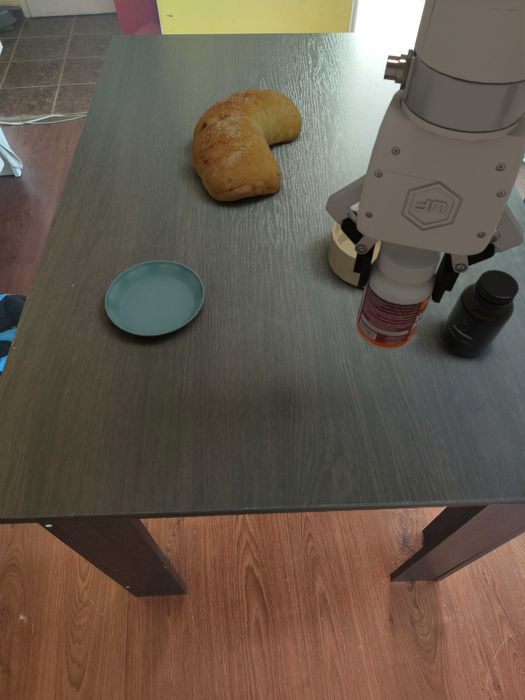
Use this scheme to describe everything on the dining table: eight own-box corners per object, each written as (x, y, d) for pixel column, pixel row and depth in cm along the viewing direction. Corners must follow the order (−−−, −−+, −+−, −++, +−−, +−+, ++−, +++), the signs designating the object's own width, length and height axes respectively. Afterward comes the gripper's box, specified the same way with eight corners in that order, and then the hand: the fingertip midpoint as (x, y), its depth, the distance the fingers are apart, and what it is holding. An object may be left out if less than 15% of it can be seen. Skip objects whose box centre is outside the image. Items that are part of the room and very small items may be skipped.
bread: (220, 109, 104) (216, 61, 96) (307, 122, 101) (311, 73, 93) (167, 198, 86) (157, 148, 78) (271, 216, 83) (271, 166, 75)
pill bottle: (416, 354, 47) (453, 276, 38) (355, 350, 48) (377, 272, 38) (410, 308, 51) (442, 226, 42) (353, 304, 51) (373, 223, 42)
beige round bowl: (411, 243, 79) (421, 215, 74) (401, 298, 72) (411, 271, 67) (336, 228, 81) (341, 199, 76) (319, 280, 74) (323, 252, 69)
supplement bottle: (439, 353, 66) (470, 297, 56) (440, 317, 70) (469, 259, 60) (489, 363, 65) (529, 308, 55) (487, 325, 69) (525, 268, 59)
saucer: (95, 339, 68) (90, 328, 65) (126, 267, 76) (122, 255, 74) (194, 351, 66) (192, 340, 64) (214, 276, 75) (213, 264, 73)
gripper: (318, 96, 28) (300, 294, 43) (627, 139, 26) (494, 335, 40) (341, 44, 32) (317, 240, 47) (609, 76, 30) (494, 274, 44)
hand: (399, 282), depth 44 cm, fingers closed on pill bottle, 6 cm apart
